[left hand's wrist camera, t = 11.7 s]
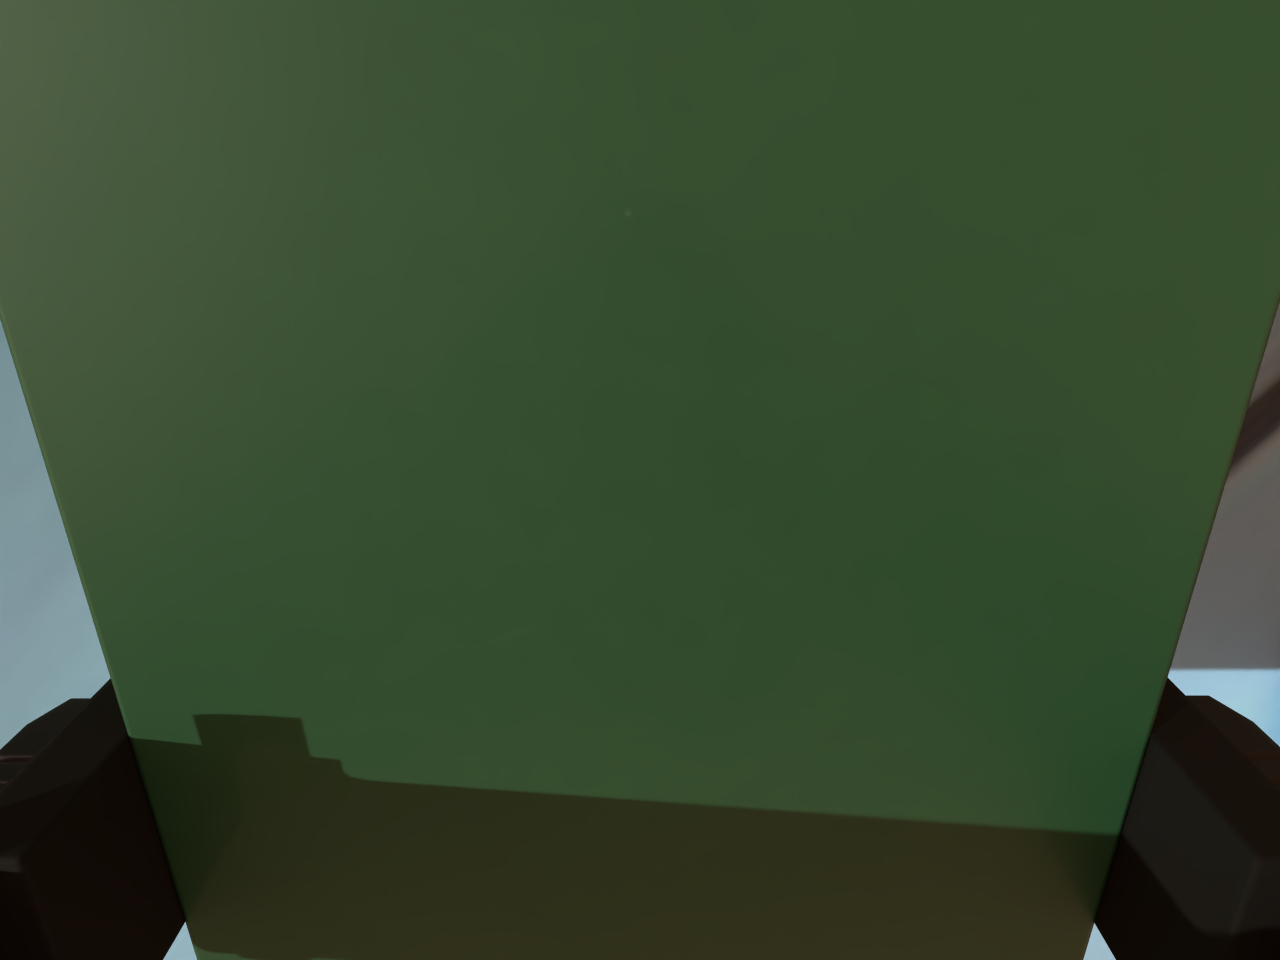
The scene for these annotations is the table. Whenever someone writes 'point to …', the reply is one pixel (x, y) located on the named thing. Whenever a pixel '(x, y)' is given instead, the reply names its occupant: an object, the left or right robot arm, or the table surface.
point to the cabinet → (639, 449)
